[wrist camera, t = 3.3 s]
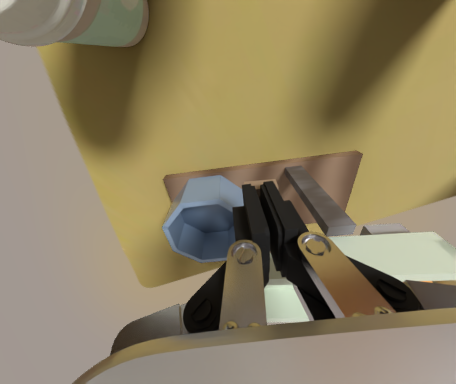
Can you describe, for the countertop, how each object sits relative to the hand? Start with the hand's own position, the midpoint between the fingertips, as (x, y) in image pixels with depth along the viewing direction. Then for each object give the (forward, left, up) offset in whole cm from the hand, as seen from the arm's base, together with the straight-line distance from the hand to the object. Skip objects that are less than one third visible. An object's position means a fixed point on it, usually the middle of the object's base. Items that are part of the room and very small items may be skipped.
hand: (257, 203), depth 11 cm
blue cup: (+5, +9, -11) cm, 15 cm away
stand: (-2, +9, -13) cm, 15 cm away
